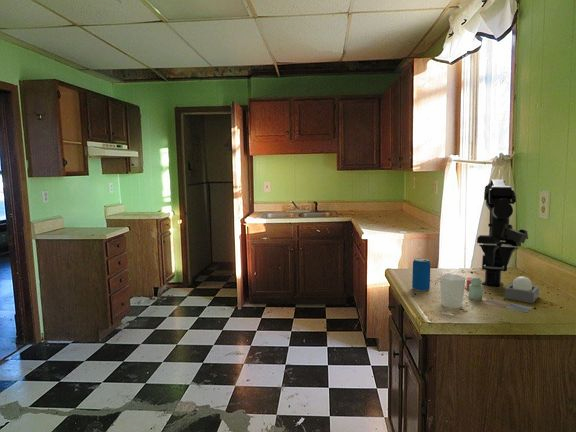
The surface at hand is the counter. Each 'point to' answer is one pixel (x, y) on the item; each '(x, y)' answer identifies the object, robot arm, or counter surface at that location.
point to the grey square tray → (521, 294)
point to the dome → (522, 283)
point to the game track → (502, 304)
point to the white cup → (452, 290)
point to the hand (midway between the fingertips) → (498, 266)
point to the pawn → (475, 289)
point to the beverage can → (421, 274)
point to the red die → (468, 282)
